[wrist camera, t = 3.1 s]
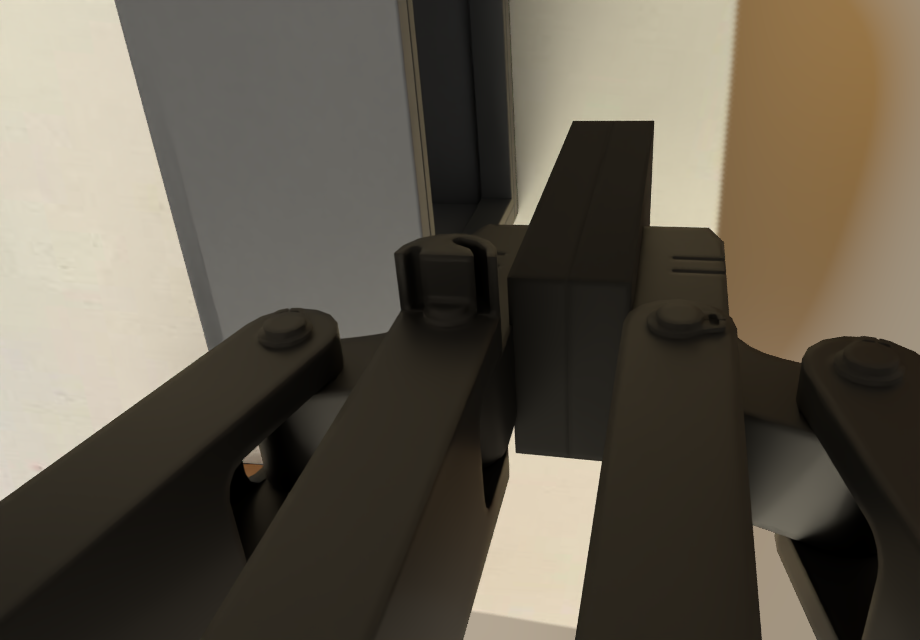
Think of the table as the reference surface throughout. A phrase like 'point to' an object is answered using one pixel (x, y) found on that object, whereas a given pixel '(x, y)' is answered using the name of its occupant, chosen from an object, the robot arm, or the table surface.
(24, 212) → the table surface
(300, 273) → the grey open box
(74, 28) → the table surface
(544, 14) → the table surface
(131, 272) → the table surface
